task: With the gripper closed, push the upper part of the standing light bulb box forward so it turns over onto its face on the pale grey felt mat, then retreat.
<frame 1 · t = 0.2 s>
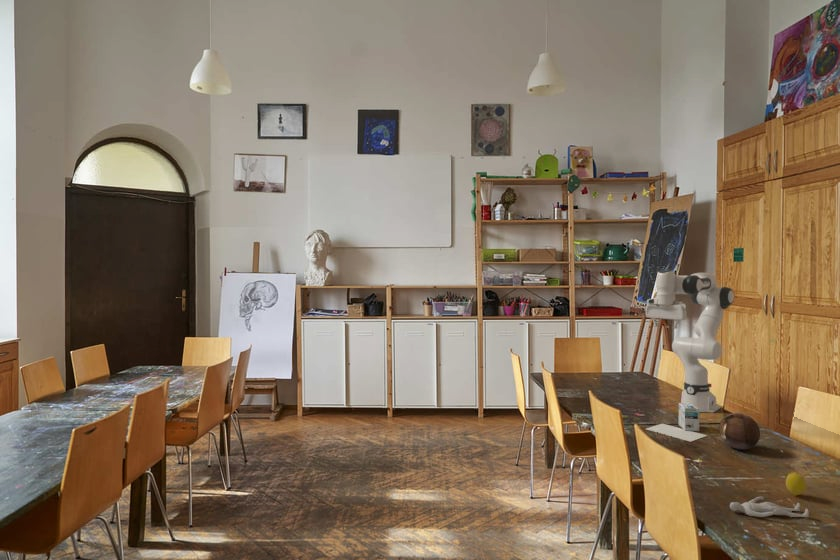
hand: (665, 327, 263), 47 cm above the table, tool pointing down, fingers open, 8 cm apart
male figure: (766, 515, 162), on the table
mat: (675, 432, 242), on the table
light bulb box: (688, 428, 248), on the table, touching mat
wooden sphere: (739, 448, 220), on the table
lemon: (795, 496, 175), on the table
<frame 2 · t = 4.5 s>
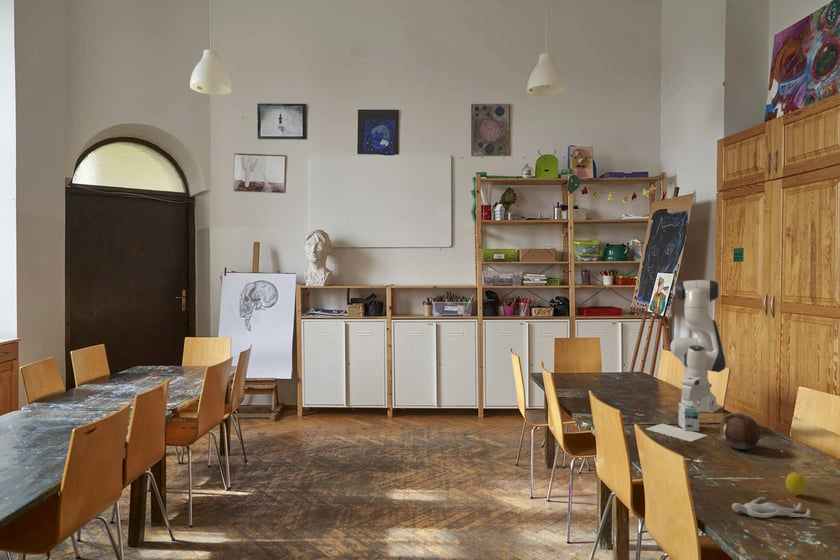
hand: (696, 407, 251), 9 cm above the table, tool pointing down, fingers closed
light bulb box: (688, 428, 248), on the table, touching gripper, mat
everything else where it was.
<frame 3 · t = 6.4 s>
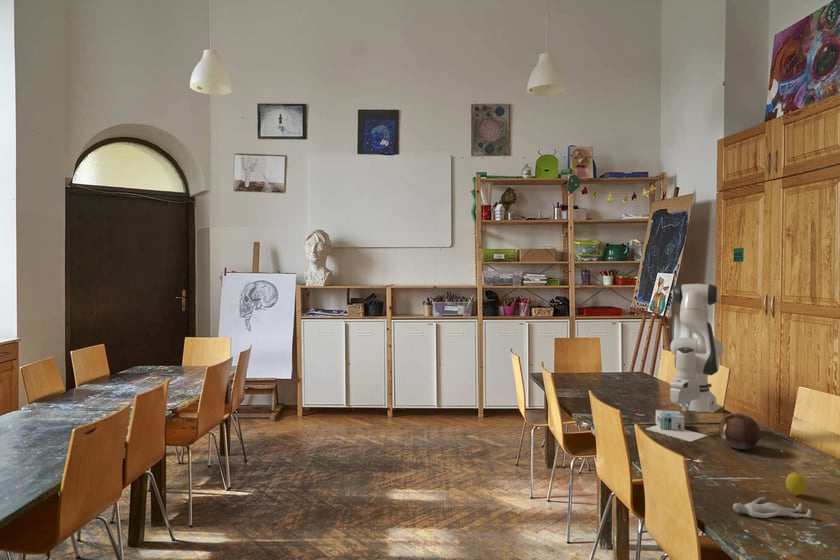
hand: (685, 410, 246), 9 cm above the table, tool pointing down, fingers closed
light bulb box: (682, 420, 248), point 4 cm above the table, touching mat
everything else where it was.
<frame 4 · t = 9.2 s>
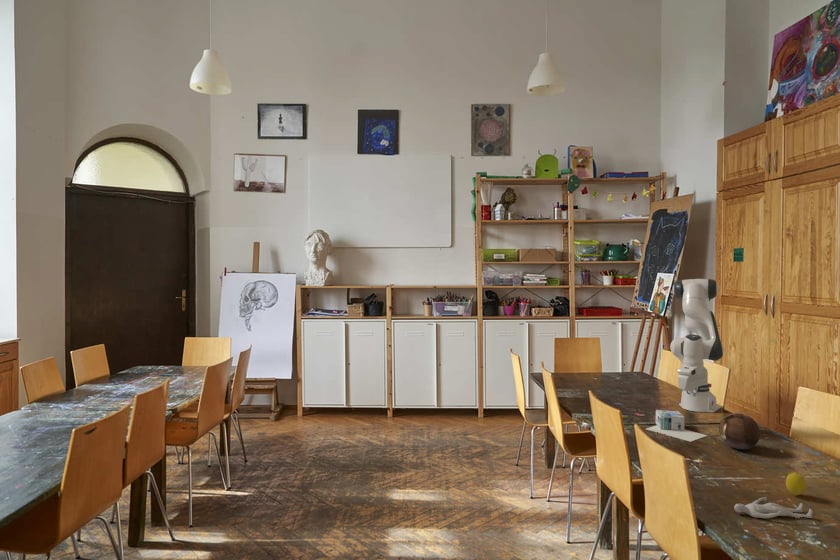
hand: (693, 396, 250), 15 cm above the table, tool pointing down, fingers closed
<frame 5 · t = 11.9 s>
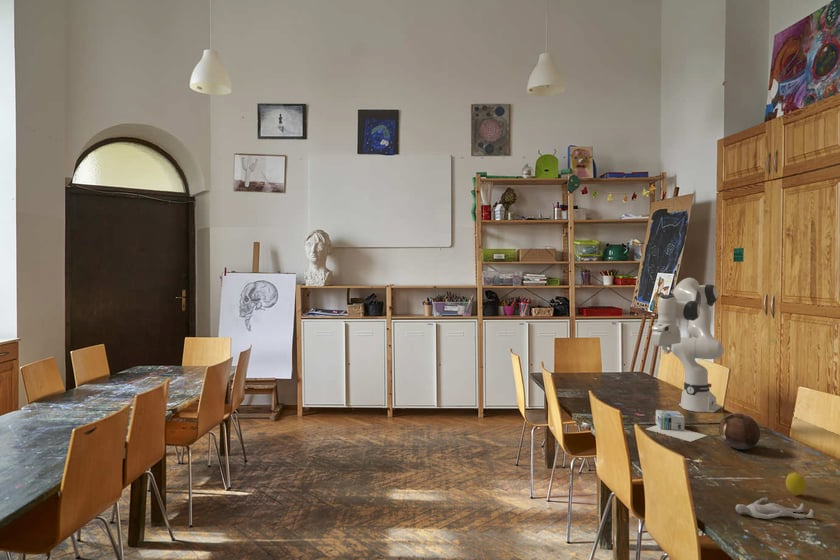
hand: (666, 353, 261), 34 cm above the table, tool pointing down, fingers closed
at the end: light bulb box tilted 89°; light bulb box inside the target area (9.1 cm from its centre), point 3.5 cm above the table; the gripper is holding nothing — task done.
